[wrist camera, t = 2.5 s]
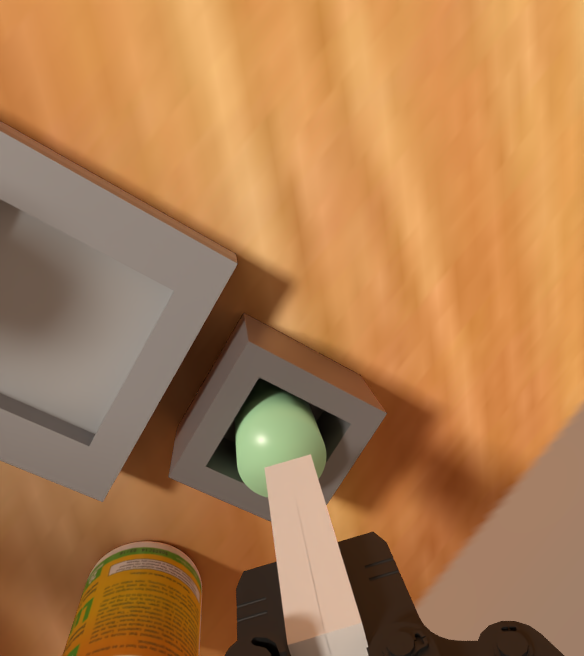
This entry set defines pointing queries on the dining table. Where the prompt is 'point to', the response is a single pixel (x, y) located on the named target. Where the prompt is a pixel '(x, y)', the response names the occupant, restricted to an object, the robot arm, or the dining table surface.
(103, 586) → the supplement bottle
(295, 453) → the light green egg
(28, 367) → the grey slotted tray
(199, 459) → the grey square holder
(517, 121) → the dining table surface
